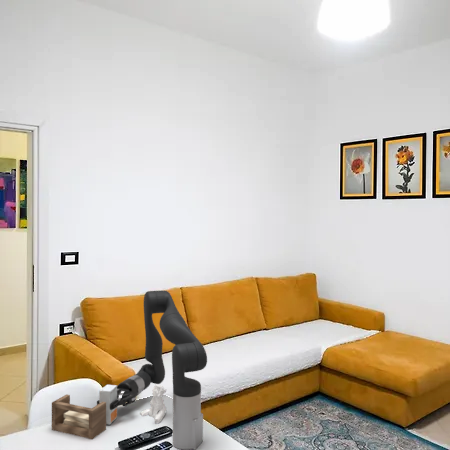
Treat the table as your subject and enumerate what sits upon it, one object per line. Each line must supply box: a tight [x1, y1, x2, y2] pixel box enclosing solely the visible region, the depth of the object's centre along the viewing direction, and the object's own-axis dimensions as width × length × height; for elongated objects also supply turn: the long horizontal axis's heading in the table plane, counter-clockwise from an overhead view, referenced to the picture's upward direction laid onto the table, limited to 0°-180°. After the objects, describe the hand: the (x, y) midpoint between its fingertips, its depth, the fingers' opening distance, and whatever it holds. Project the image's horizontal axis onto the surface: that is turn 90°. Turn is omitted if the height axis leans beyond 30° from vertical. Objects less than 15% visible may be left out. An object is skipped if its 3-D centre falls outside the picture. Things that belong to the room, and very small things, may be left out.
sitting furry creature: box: [139, 384, 167, 425], centre depth 171 cm, size 10×9×12 cm
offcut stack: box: [63, 411, 89, 430], centre depth 160 cm, size 12×5×5 cm, turn 69°
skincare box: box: [98, 384, 118, 425], centre depth 165 cm, size 6×4×12 cm
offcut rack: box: [51, 394, 107, 440], centre depth 159 cm, size 17×8×10 cm, turn 69°
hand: (104, 405), depth 162 cm, fingers closed on skincare box, 4 cm apart
